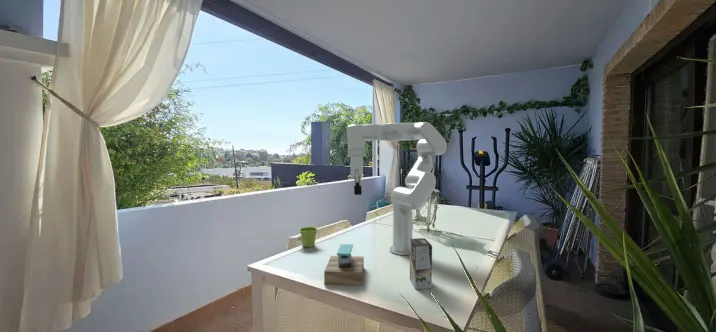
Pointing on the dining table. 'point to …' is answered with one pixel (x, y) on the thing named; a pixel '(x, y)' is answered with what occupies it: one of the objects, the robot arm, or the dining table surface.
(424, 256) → the coffee box
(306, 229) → the plant pot
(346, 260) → the pin
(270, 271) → the dining table surface
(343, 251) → the teal flat block
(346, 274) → the block
